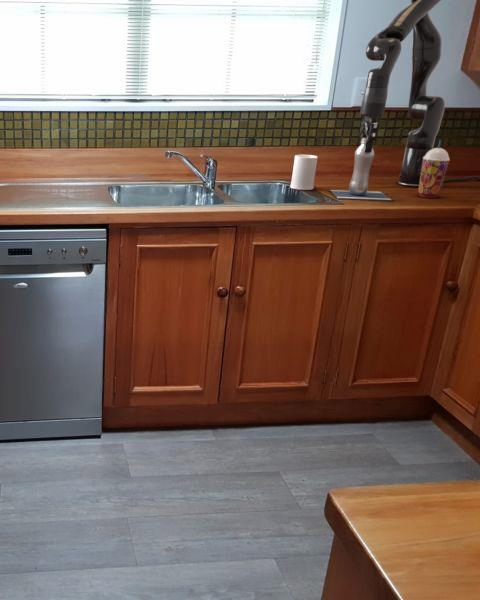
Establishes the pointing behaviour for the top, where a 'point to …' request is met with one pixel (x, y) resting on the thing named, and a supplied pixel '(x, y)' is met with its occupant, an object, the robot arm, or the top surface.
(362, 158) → the plastic bottle
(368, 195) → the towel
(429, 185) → the smoothie
